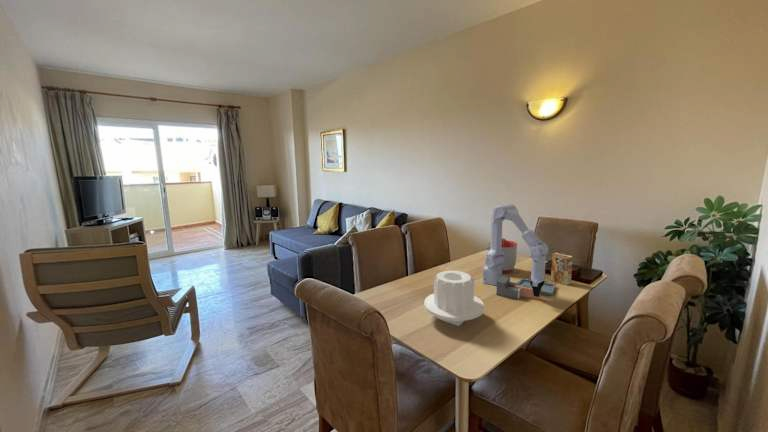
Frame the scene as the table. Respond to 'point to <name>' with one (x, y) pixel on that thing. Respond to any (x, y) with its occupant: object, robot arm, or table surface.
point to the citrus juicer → (508, 255)
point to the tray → (545, 290)
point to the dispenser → (508, 288)
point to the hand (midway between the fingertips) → (536, 295)
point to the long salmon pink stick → (527, 292)
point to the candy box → (561, 268)
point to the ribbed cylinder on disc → (454, 298)
